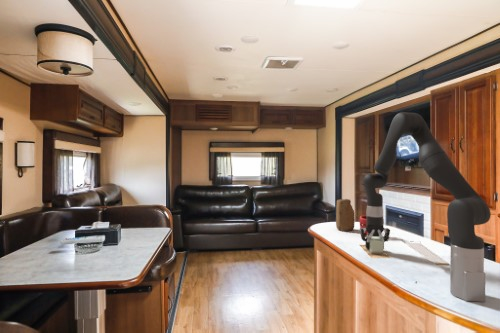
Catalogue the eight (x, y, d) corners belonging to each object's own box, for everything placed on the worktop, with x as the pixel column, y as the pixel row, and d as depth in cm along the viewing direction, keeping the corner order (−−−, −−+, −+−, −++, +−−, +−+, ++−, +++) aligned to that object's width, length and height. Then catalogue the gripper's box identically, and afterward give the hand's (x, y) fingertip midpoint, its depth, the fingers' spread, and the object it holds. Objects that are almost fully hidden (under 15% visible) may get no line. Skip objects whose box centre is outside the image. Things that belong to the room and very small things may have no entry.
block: (338, 231, 191) (338, 200, 190) (335, 228, 198) (335, 198, 198) (355, 231, 191) (355, 200, 190) (351, 228, 199) (351, 198, 198)
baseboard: (424, 265, 132) (448, 266, 131) (424, 259, 132) (449, 260, 130) (400, 245, 162) (420, 246, 160) (400, 240, 162) (420, 240, 160)
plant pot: (361, 240, 171) (361, 219, 170) (357, 234, 184) (357, 214, 183) (386, 241, 168) (386, 220, 168) (380, 235, 181) (380, 215, 181)
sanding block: (383, 253, 141) (383, 241, 141) (371, 253, 142) (371, 241, 141) (377, 248, 149) (377, 236, 149) (366, 248, 150) (366, 236, 149)
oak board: (391, 261, 136) (391, 257, 136) (371, 260, 137) (371, 257, 137) (376, 247, 156) (376, 244, 156) (359, 247, 157) (359, 244, 157)
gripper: (361, 216, 141) (361, 251, 142) (393, 216, 140) (393, 252, 141) (357, 213, 149) (357, 247, 150) (387, 213, 148) (387, 247, 148)
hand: (374, 249), depth 145 cm, fingers closed on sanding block, 5 cm apart
